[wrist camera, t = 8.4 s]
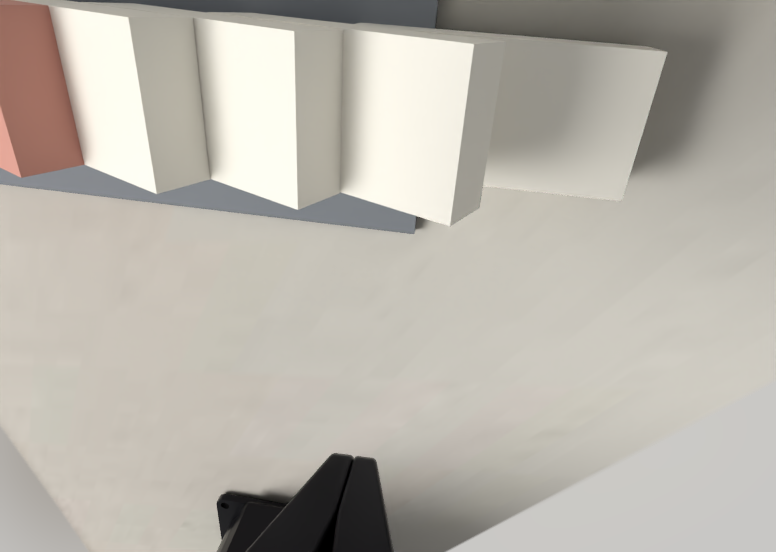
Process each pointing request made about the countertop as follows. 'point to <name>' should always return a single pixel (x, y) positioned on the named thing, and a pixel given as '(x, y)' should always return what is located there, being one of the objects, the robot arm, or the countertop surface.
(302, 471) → the countertop surface
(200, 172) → the domino
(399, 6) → the slate mat
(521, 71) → the domino
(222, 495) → the robot arm
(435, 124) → the domino
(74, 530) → the countertop surface
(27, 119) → the domino
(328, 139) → the domino
